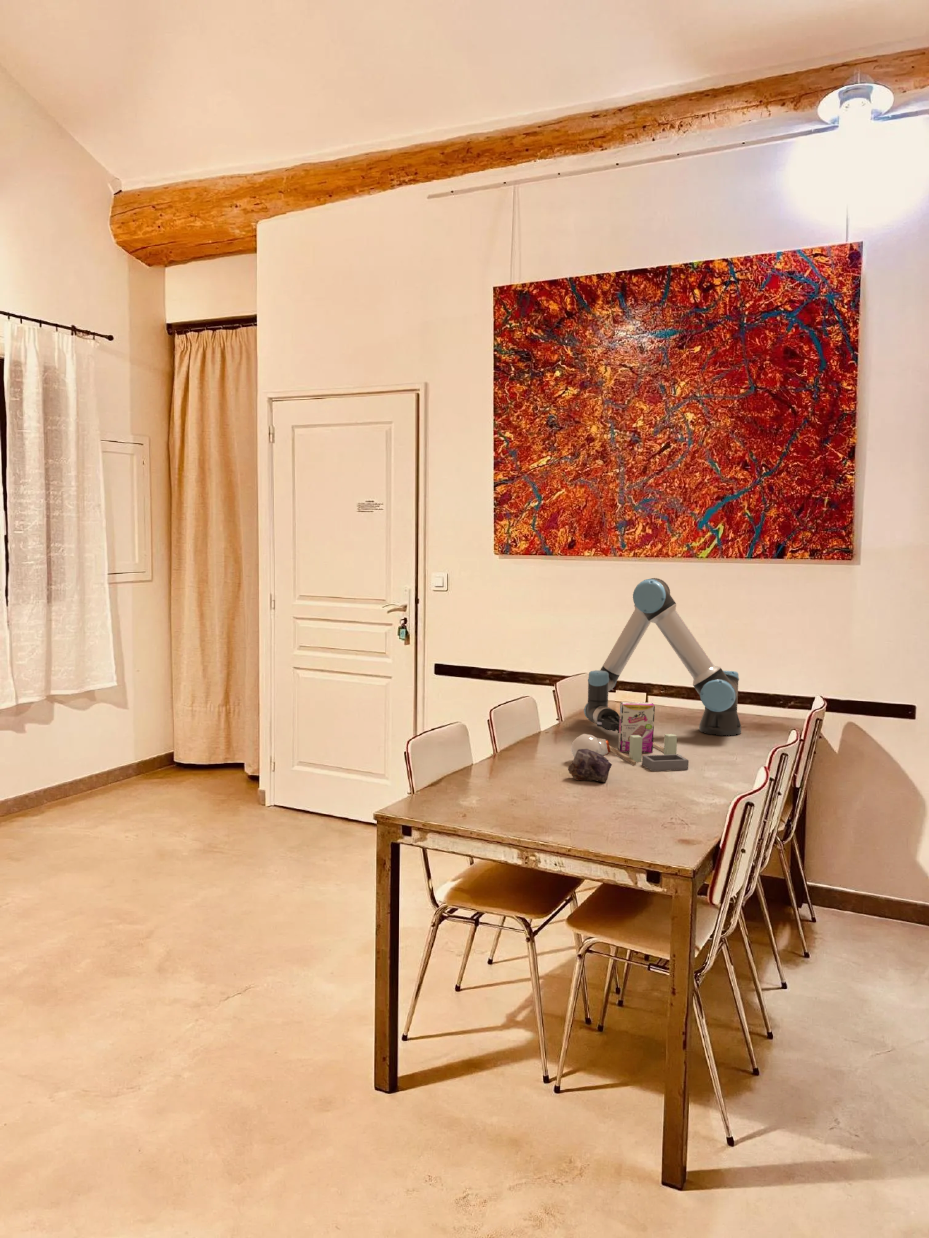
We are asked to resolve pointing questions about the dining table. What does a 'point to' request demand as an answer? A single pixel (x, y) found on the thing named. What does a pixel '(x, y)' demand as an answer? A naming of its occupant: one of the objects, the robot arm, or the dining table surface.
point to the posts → (636, 746)
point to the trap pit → (665, 762)
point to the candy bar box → (636, 725)
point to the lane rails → (630, 758)
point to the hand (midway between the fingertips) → (631, 731)
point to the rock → (589, 766)
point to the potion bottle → (590, 744)
